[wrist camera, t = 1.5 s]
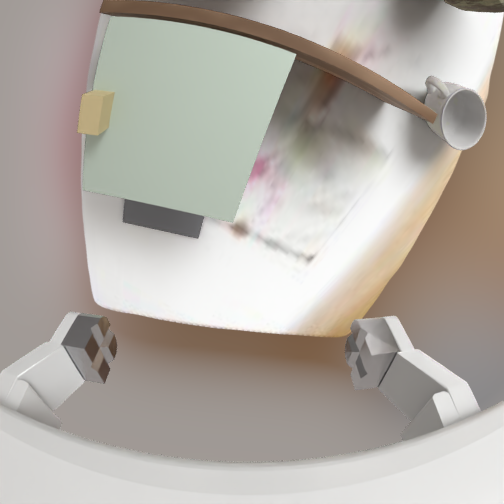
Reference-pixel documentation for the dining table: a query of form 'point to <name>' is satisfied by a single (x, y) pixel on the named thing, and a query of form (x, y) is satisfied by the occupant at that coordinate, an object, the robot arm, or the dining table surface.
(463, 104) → the teacup
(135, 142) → the slide cover
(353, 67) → the small wooden cabinet
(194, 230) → the rubber mat
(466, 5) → the grey handled block
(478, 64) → the dining table surface
